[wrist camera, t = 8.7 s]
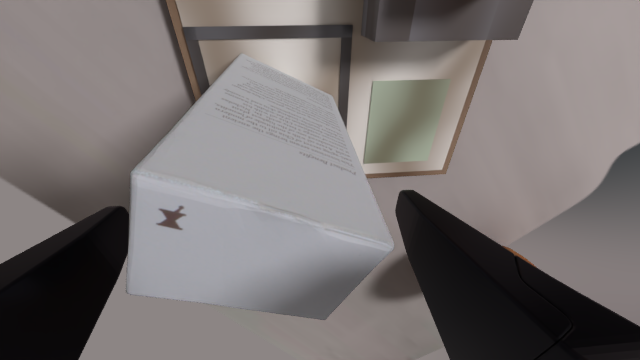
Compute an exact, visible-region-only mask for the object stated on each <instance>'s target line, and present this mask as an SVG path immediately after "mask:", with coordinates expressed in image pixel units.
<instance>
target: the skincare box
mask: <svg viewBox="0 0 640 360" xmlns="http://www.w3.org/2000/svg"><path fill="white" fill-rule="evenodd" d="M393 249H394V242H393V239H392V237H391V235H390V232H389V230H388V227H387V225H386V223H385V221H384V218H383V216H382V213H381V211H380V209H379V206H378V204H377V201H376V199H375V197H374V195H373V192H372V190H371V188H370V185H369V183H368V180H367V178H366V175H365V173H364V171H363V168H362V166H361V163H360V161H359V159H358V156H357V154H356V151H355V149H354V147H353V144H352V142H351V139H350V137H349V135H348V132H347V130H346V127H345V125H344V122H343V120H342V118H341V115H340V113H339V110H338V108H337V105H336V103H335V100H334V98H333V96H332V95H330V94H328V93H325V92H323V91H321V90H319V89H317V88H315V87H313V86H311V85H309V84H307V83H304V82H302V81H300V80H298V79H296V78H294V77H292V76H290V75H287V74H285V73H283V72H281V71H279V70H277V69H275V68H273V67H270V66H268V65H266V64H264V63H262V62H260V61H258V60H256V59H253V58H251V57H249V56H247V55H245V54H243V53H241V54H240V55H239V56H238V57H237V58H236V59H235V60H234V61H233V62H232V63H231V64H230V65H229V67H228V68H227V69H226V70H225V71H224V72H223V73H222V74H221V75H220V76H219V77H218V78H217V80H216V81H215V82H214V83H213V84H212V85H211V86H210V87H209V88H208V89H207V90H206V92H205V93H204V94H203V95H202V96H201V97H200V98H199V99H198V100H197V101H196V102H195V104H194V105H193V106H192V107H191V108H190V109H189V110H188V111H187V112H186V113H185V114H184V116H183V117H182V118H181V119H180V120H179V121H178V122H177V123H176V124H175V125H174V127H173V128H172V129H171V130H170V131H169V132H168V134H167V135H166V136H165V137H164V138H163V139H161V140H160V142H159V143H158V144H157V145H156V146H155V147H154V148H153V149H152V150H151V151H150V152H149V153H148V154H147V155H146V156H145V157H144V158H143V160H142V161H141V162H140V163H139V164H138V165H137V166H136V167H135V168H134V169H133V170H132V171H131V173H130V207H129V238H128V262H127V275H126V292H127V293H128V294H130V295H137V296H146V297H155V298H164V299H173V300H181V301H190V302H197V303H205V304H213V305H220V306H227V307H233V308H240V309H247V310H254V311H262V312H270V313H276V314H284V315H291V316H299V317H306V318H314V319H320V320H325V319H327V317H328V316H329V315H330V314H331V313H332V312H333V311H334V310H335V309H336V308H337V307H338V306H339V305H340V304H341V303H342V301H343V300H344V299H345V298H346V297H347V296H348V295H349V294H350V293H351V292H352V291H353V290H354V289H355V288H356V287H357V286H358V285H359V284H360V282H361V281H362V280H363V279H364V278H365V277H366V276H367V275H368V274H369V273H370V272H371V271H372V270H373V269H374V268H375V267H376V266H377V265H378V264H379V263H380V262H381V261H382V260H383V259H384V258H385V257H386V256H387V255H388V254H389V253H390V252H391V251H392V250H393Z"/></svg>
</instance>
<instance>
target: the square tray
mask: <svg viewBox="0 0 640 360" xmlns="http://www.w3.org/2000/svg"><path fill="white" fill-rule="evenodd" d="M166 3H167V6H168V9H169V13H170V16H171V19H172V23H173V26H174V30H175V33H176V36H177V40H178V43H179V46H180V50H181V53H182V56H183V60H184V63H185V67H186V70H187V73H188V77H189V80H190V83H191V87H192V90H193V93H194V97H195V100H196V101H197V100H198V99H199V98H200V97H201V96H202V95H203V94H204V93H205V92H206V90H207V89H208V88H209V87H210V86H211V85H212V84H213V83H214V82H215V81H216V80H217V78H218V77H219V76H220V75H221V74H222V73H223V72H224V71H225V70H226V69H227V68H228V67H229V65H230V64H231V63H232V62H233V61H234V60H235V59H236V58H237V57H238V56H239V55H240V54H241V53H243V54H245V55H247V56H249V57H251V58H253V59H256V60H258V61H260V62H262V63H264V64H266V65H268V66H270V67H273V68H275V69H277V70H279V71H281V72H283V73H285V74H287V75H290V76H292V77H294V78H296V79H298V80H300V81H302V82H304V83H307V84H309V85H311V86H313V87H315V88H317V89H319V90H321V91H323V92H325V93H328V94H330V95H332V96H333V98H334V100H335V103H336V105H337V108H338V110H339V113H340V115H341V118H342V120H343V122H344V125H345V127H346V130H347V132H348V135H349V137H350V139H351V142H352V144H353V147H354V149H355V151H356V154H357V156H358V159H359V161H360V163H361V166H362V168H363V171H364V173H365V175H366V178H381V177H399V176H417V175H436V174H446V171H447V169H448V166H449V163H450V160H451V157H452V154H453V151H454V149H455V146H456V143H457V140H458V137H459V134H460V132H461V129H462V126H463V123H464V120H465V117H466V114H467V112H468V109H469V106H470V103H471V100H472V97H473V95H474V92H475V89H476V86H477V83H478V80H479V77H480V75H481V72H482V69H483V66H484V63H485V60H486V58H487V55H488V52H489V49H490V46H491V43H492V40H518V38H519V35H520V33H521V30H522V28H523V25H524V23H525V20H526V18H527V15H528V13H529V10H530V8H531V5H532V3H533V0H166Z"/></svg>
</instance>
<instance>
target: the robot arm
mask: <svg viewBox="0 0 640 360" xmlns="http://www.w3.org/2000/svg"><path fill="white" fill-rule="evenodd" d="M395 211H396V217H397V221H398V224H399V228H400V231H401V235H402V238H403V242H404V246H405V249H406V252H407V255H408V258H409V260H410V263H411V265H412V268H413V270H414V273H415V275H416V278H417V280H418V282H419V285H420V287H421V290H422V292H423V295H424V297H425V300H426V302H427V304H428V307H429V309H430V312H431V314H432V317H433V319H434V322H435V324H436V326H437V329H438V331H439V334H440V336H441V339H442V341H443V344H444V346H445V348H446V351H447V353H448V356H449V358H450V360H640V326H638V325H636V324H635V323H633V322H631V321H629V320H627V319H626V318H624V317H622V316H620V315H618V314H617V313H615V312H613V311H611V310H609V309H608V308H606V307H604V306H602V305H600V304H599V303H597V302H595V301H593V300H591V299H590V298H588V297H586V296H584V295H582V294H581V293H578V292H577V291H575V290H574V289H572V288H570V287H568V286H567V285H565V284H563V283H561V282H560V281H558V280H556V279H554V278H553V277H551V276H549V275H548V274H546V273H544V272H543V271H541V270H539V269H538V268H536V267H535V266H533V265H531V264H530V263H528V262H527V261H525V260H524V259H522V258H520V257H519V256H517V255H515V256H514V253H512V252H511V251H509V250H508V249H506V248H504V247H503V246H501V245H500V244H498V243H496V242H495V241H493V240H492V239H490V238H488V237H487V236H485V235H484V234H482V233H481V232H479V231H477V230H476V229H474V228H473V227H471V226H469V225H468V224H466V223H465V222H463V221H462V220H460V219H458V218H457V217H455V216H454V215H452V214H450V213H449V212H447V211H446V210H444V209H442V208H441V207H439V206H438V205H436V204H435V203H433V202H431V201H430V200H428V199H427V198H425V197H423V196H422V195H420V194H419V193H417V192H415V191H414V190H402V191H400V193H399V196H398V200H397V205H396V210H395ZM128 238H129V213H128V212H127V210H126V209H125V208H124V207H122V206H110V207H106V208H104V209H102V210H100V211H98V212H96V213H95V214H93V215H91V216H89V217H87V218H85V219H83V220H82V221H80V222H78V223H76V224H74V225H72V226H70V227H69V228H67V229H65V230H63V231H61V232H59V233H57V234H55V235H54V236H52V237H50V238H48V239H46V240H44V241H43V242H41V243H39V244H37V245H35V246H33V247H31V248H30V249H28V250H26V251H24V252H22V253H20V254H18V255H16V256H14V257H13V258H11V259H9V260H7V261H5V262H4V263H1V264H0V360H78V359H79V357H80V355H81V353H82V351H83V349H84V347H85V345H86V343H87V341H88V339H89V337H90V335H91V333H92V331H93V329H94V327H95V324H96V322H97V320H98V318H99V316H100V314H101V312H102V310H103V308H104V306H105V304H106V302H107V300H108V298H109V296H110V294H111V291H112V290H113V288H114V285H115V283H116V281H117V279H118V277H119V275H120V272H121V270H122V267H123V264H124V262H125V259H126V256H127V253H128Z"/></svg>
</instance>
